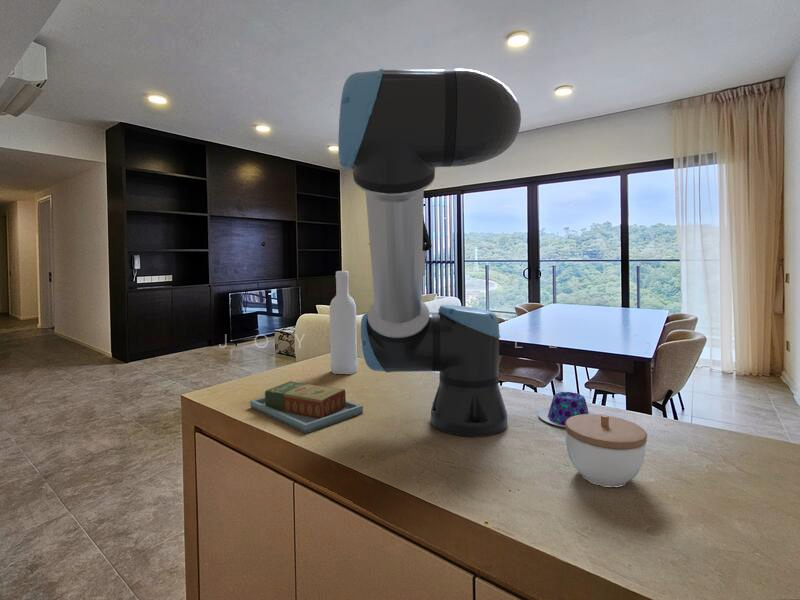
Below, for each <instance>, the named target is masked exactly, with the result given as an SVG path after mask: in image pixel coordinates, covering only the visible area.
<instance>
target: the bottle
mask: <svg viewBox="0 0 800 600" xmlns="http://www.w3.org/2000/svg"><path fill="white" fill-rule="evenodd" d="M349 278H350V275H349V271H348V270H337V271H335V284H336V285H335V286H336V288H335V290H336V293H335V296H334V297H333V298H332V299H331V301H330V304H329V337H330V339H329V340H330V341H329V342H330V343H329V344H330V372H331V373H332V374H333V373H334V374H333V375H336V374H349V375H352V374H351V373H353V374H355V372H356V373H357V372H358V347H357V346H358V344H357V343H358V342H357V340H358V337H357V333H358V332H357V305H356V303H355V300H354V298H353V297H352V296H351V295H350V293H349V291H350V290H349V286H350V285H349V283H350V282H349Z"/></svg>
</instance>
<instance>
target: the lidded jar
mask: <svg viewBox="0 0 800 600" xmlns="http://www.w3.org/2000/svg"><path fill="white" fill-rule="evenodd" d="M564 429H565V443H566V444H565V445H566V450H567V454H568V457H569V459H570V462H571V464H572V465H573V467H574V468H575V469H576V470H577V472H579V473H580V476H581V475H582V476H581V477H582V478H583V479H584V480H585V479H586V480H588V481H590V482H592V483H595V484H598V485H602V486H610V487H615V486H620V485H624V484H625V483H626V484H627V483H629V482H630V481H632V480H633V479H634V478H636V476H637V475H638V474H639V472H640V471H641V469H642V466H643V464H644V460H645V456H646V454H645V453H646V443H647V440H648V434H647V431H646V430H645V429H644V428H643V427H642V426H640V425H638V424H636V423H634V422H632V421H630V420H627V419H624V418H620V417H616V416H611V415H608V414H595V413H593V414H583V415H576V416H572V417H570V418H568V419H567V420H566V423H565V427H564ZM586 480H585V481H586ZM588 481H587V482H588ZM590 482H589V483H590ZM592 483H591V484H592ZM626 484H625V485H626ZM625 485H624V486H625Z"/></svg>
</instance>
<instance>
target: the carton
mask: <svg viewBox="0 0 800 600" xmlns="http://www.w3.org/2000/svg"><path fill="white" fill-rule="evenodd" d="M264 397H265V404H266V406H268V407H270V408H273V409H275V410H280V411H285V412H290V413H295V414H301V415H305V416H311V417H316V418H324V417H327V416H329V415H331V414H333V413H335V412H337V411H339V410H341V409H343V408H344V407H345V406H346V398H347V396H346V389H345V388H338V387H337V388H336V387H331V386H324V385H319V384H318V385H316V384H310V383H304V382H298V381H297V382H296V381H290V380H289V381H287V382H285V383H282V384H280V385H277V386H274V387H271V388H268V389H266V390H265V391H264Z"/></svg>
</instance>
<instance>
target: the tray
mask: <svg viewBox="0 0 800 600" xmlns="http://www.w3.org/2000/svg"><path fill="white" fill-rule="evenodd" d="M249 405H250V407H251V408H250V409H252V410H254V409H255V410H254V411H256V410H257V412H258V411H259V412H258V413H260V414H262V415H265V416H268V417H269V418H271V419H273V420H276V421H278V422H280V423H282V424H284V425H286V426H289V427H291V428H293V429H295V430H297V431H300V432H301V433H303V434H308V433H311V432H314V431H316V430H319V429H322V428H325V427H327V426H328V427H329V426H330V425H331V426H332V425H333V424H337V423H339V422H341V421H345V420H347V419H351V418H353V417H356V416H358V415H362V414H364V413H363V411H364V407H363V406H364V405H362V404H358V403H355V402H353V401H349V400H346V406H345V407H344V408H343V409H341V410H339V411H337V412H335V413H333V414H331V415H329V416H327V417H324V418H316V417H311V416H305V415H301V414H295V413H290V412H285V411H280V410H275V409H273V408H270V407H268V406H266V404H265V396H263V397H260V398H259V397H258V398H256V399H251V400H250V401H249Z"/></svg>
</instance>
